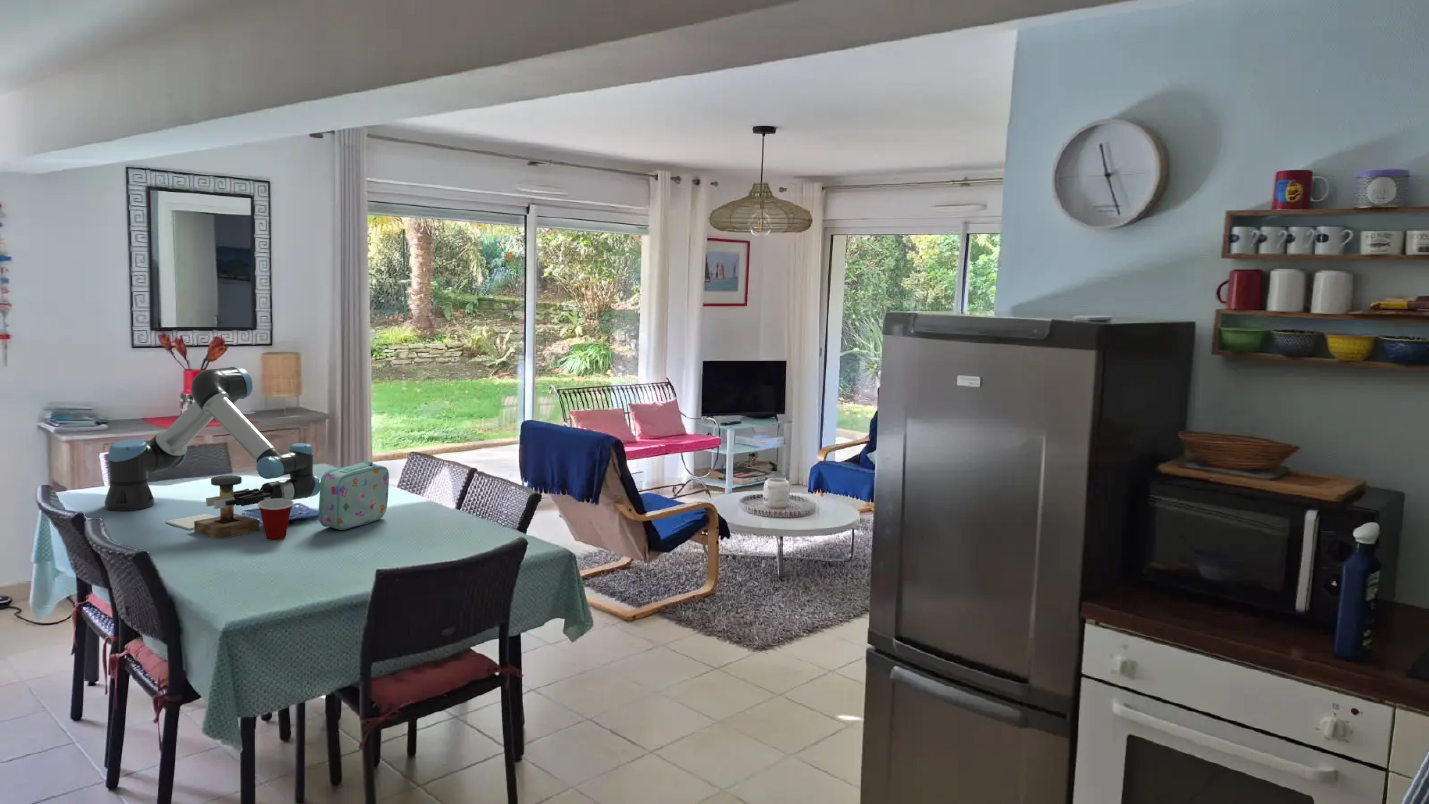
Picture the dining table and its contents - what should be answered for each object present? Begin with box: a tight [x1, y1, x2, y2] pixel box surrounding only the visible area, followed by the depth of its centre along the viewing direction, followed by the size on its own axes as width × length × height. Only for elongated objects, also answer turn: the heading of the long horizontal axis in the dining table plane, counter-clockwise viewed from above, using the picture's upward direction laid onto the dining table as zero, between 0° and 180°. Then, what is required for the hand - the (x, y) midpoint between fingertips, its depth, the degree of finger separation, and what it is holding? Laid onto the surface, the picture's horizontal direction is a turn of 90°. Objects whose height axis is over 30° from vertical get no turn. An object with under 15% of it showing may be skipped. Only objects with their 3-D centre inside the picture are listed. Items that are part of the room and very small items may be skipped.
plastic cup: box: [256, 499, 294, 541], centre depth 310 cm, size 11×11×12 cm
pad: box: [165, 513, 217, 531], centre depth 325 cm, size 14×14×1 cm
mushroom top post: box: [210, 475, 243, 524], centre depth 316 cm, size 9×9×18 cm
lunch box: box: [317, 460, 390, 531], centre depth 332 cm, size 27×10×21 cm, turn 160°
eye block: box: [193, 513, 261, 540], centre depth 316 cm, size 14×14×4 cm
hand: (210, 503), depth 311 cm, fingers closed on mushroom top post, 4 cm apart
